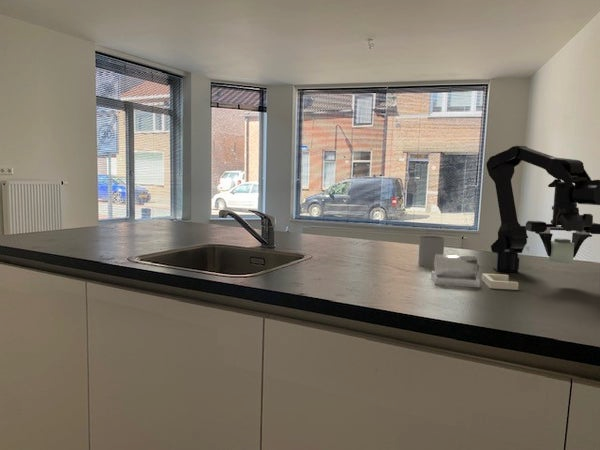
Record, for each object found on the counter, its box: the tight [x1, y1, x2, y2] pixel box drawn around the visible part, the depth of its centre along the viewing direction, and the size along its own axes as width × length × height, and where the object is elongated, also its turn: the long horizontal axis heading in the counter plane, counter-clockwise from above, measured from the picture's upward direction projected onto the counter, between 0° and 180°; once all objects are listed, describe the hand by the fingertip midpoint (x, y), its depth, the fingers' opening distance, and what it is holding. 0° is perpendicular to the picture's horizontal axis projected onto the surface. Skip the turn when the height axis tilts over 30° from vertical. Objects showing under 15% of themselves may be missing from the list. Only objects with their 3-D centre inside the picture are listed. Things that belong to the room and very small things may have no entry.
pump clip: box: [481, 273, 519, 291], centre depth 121 cm, size 7×10×2 cm
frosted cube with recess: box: [548, 238, 574, 264], centre depth 122 cm, size 6×6×6 cm
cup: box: [418, 235, 445, 268], centre depth 149 cm, size 8×8×10 cm
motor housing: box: [431, 254, 481, 288], centre depth 123 cm, size 12×10×8 cm
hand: (560, 256), depth 122 cm, fingers closed on frosted cube with recess, 6 cm apart
